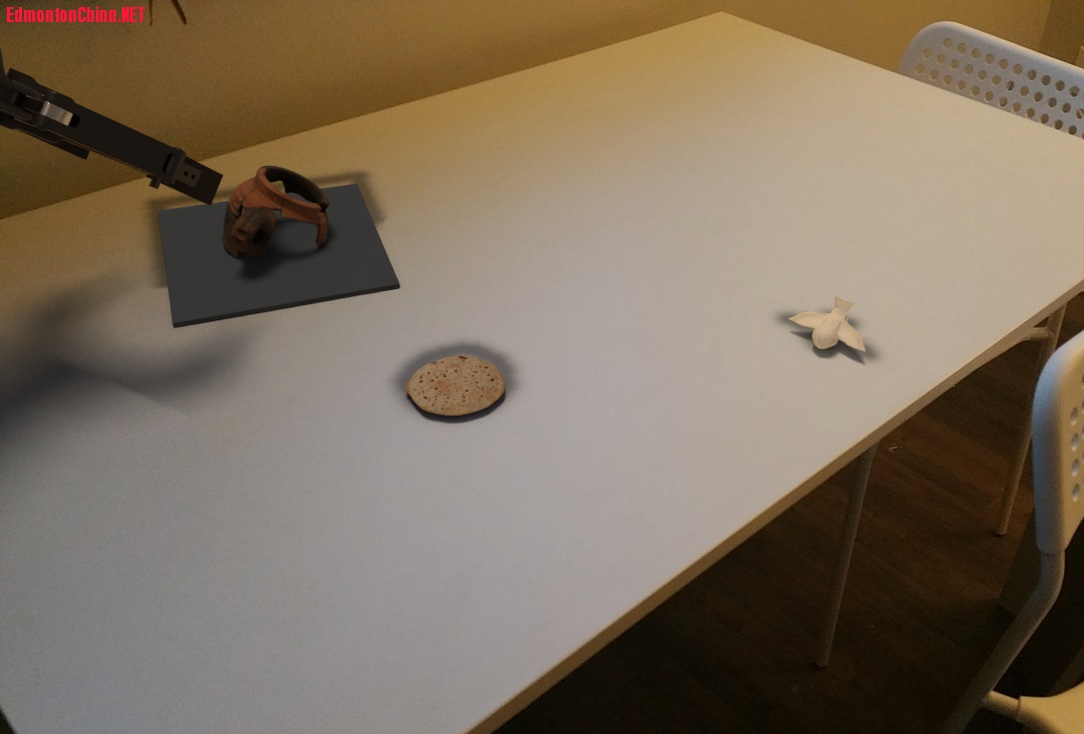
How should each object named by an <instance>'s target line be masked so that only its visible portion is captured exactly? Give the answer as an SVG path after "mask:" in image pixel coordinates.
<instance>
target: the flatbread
mask: <svg viewBox="0 0 1084 734" xmlns="http://www.w3.org/2000/svg"><path fill="white" fill-rule="evenodd" d="M405 392H406V393H407V394H408V395H409V396H410V398H411V400H412V401H413V402H414V403H415V404H416V405H417V407H418V408H419V409H421V410H422V411H425V412H426V413H429V414H430V413H431V414H434V415H440V416H445V417H459V416H460V417H461V416H465V415H470V414H474V413H477V412H479V411H483V410H485V409H487V408H489V407H490V406H492V405H493V404H495V402H497V401H498V400H499V399H500V398H501V397H502V396H503V394H504V392H505V381H504V377H503V375H502V373H501V372H500V370H499V369H498V367H497V366H496V365H494V364H492V363H491V362H488V361H486V360H484V359H480V358H479V357H475V356H467V355H462V354H461V355H459V354H458V355H453V356H448V357H445V358H440V359H438V360H434V361H431V362H429V363H427V364H425V365H424V366H422V367H420V368H418V369H417V370H415V372H414V373H413V375H412V376H411V378H410V379H409V380H408V382H407V383H406V384H405Z"/></svg>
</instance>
